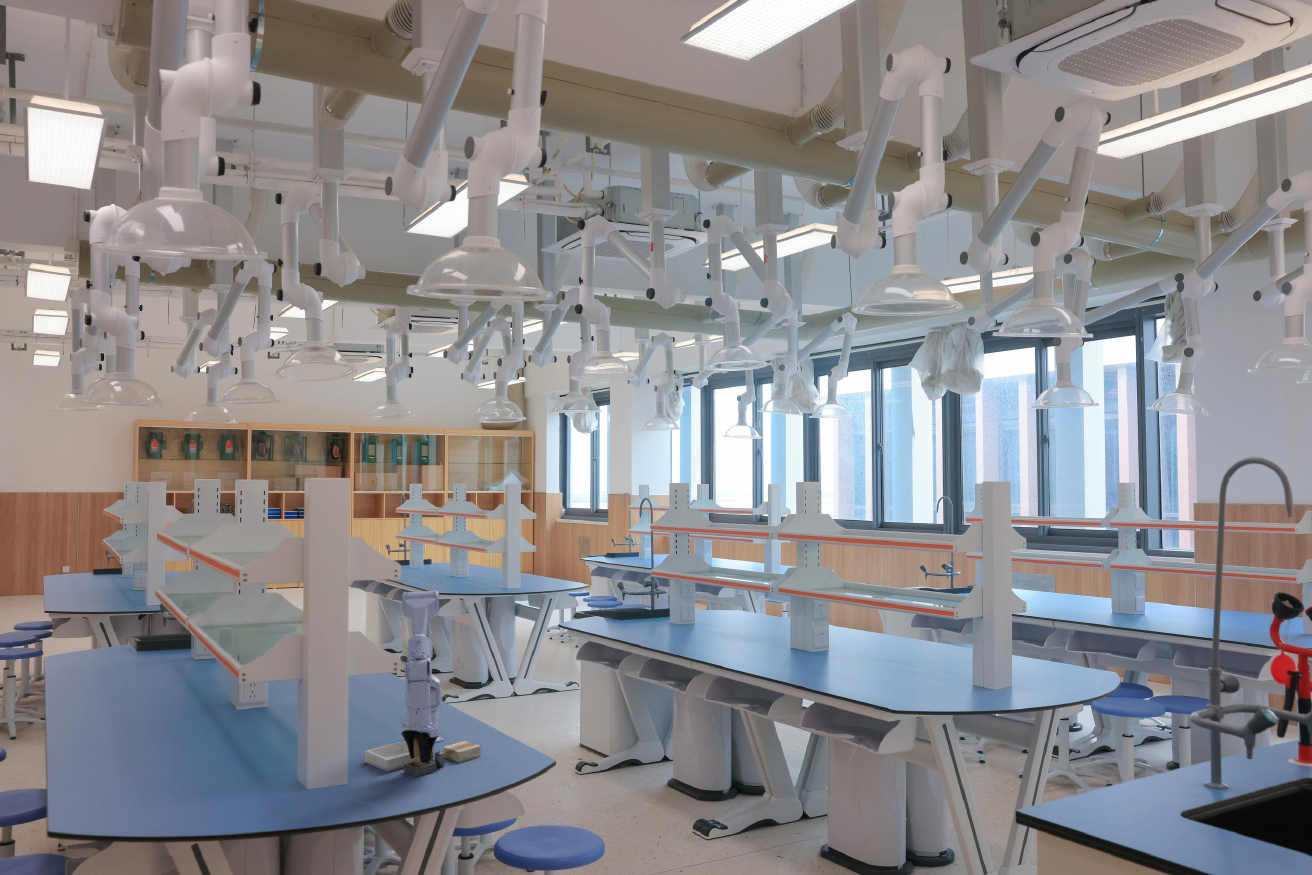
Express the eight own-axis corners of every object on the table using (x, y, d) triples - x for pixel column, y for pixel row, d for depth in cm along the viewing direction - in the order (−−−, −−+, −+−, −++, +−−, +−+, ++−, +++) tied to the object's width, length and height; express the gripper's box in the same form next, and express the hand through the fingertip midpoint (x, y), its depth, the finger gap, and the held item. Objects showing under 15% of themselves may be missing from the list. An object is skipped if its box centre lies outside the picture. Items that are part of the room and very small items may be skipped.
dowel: (412, 771, 243) (411, 740, 243) (422, 768, 246) (421, 737, 246) (418, 773, 241) (417, 742, 241) (428, 770, 243) (428, 739, 244)
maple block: (443, 757, 255) (443, 746, 255) (465, 751, 260) (465, 740, 260) (458, 763, 250) (458, 751, 250) (480, 756, 255) (480, 745, 255)
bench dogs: (422, 762, 250) (422, 749, 250) (430, 760, 252) (429, 746, 252) (437, 768, 245) (437, 754, 245) (445, 765, 247) (445, 752, 247)
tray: (364, 762, 252) (364, 750, 252) (403, 751, 260) (403, 740, 260) (387, 771, 244) (387, 759, 244) (426, 760, 252) (426, 749, 252)
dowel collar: (404, 771, 243) (404, 763, 243) (424, 765, 248) (423, 758, 248) (416, 776, 239) (416, 768, 239) (436, 770, 243) (436, 762, 243)
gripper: (390, 704, 246) (391, 757, 246) (420, 714, 236) (421, 769, 236) (414, 699, 251) (415, 751, 251) (445, 708, 241) (446, 762, 241)
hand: (420, 759), depth 243 cm, fingers open, 4 cm apart
